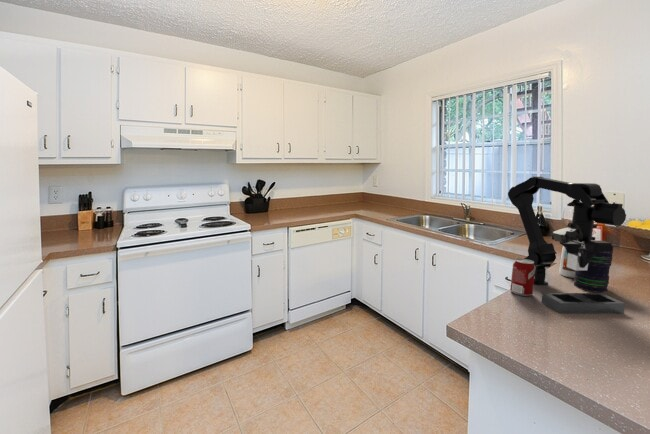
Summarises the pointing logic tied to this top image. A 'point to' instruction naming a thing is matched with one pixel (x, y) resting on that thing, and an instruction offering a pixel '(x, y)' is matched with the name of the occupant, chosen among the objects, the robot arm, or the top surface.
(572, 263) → the grey foam cube
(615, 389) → the top surface
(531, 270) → the soda can
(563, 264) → the milk bottle
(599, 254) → the storage jar
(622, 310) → the tray
